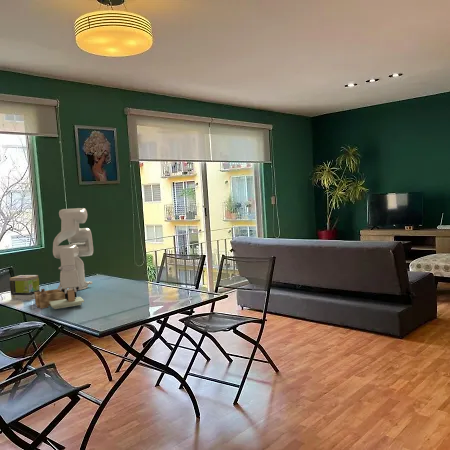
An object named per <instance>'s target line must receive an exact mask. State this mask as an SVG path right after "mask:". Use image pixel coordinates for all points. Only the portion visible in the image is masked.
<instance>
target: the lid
mask: <svg viewBox="0 0 450 450" xmlns="http://www.w3.org/2000/svg"><path fill="white" fill-rule="evenodd" d="M67 293H68V300H66V299H63V300H57V301H50V302H49V304H50V305H51V306H50V307H51V308H53V309H54V310H57V309H58V310H59V309H64V308H69V307H75V306H81V305H83V304H82V303H85V300H84V299H83V298H82V297H81V296H77V297H76V299H75V294H74V290H73V289H69V288H67Z"/></svg>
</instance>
